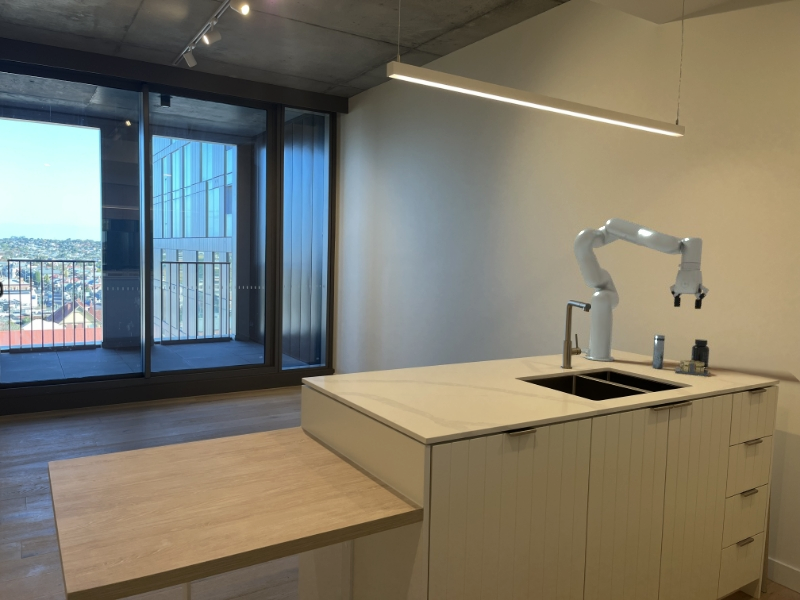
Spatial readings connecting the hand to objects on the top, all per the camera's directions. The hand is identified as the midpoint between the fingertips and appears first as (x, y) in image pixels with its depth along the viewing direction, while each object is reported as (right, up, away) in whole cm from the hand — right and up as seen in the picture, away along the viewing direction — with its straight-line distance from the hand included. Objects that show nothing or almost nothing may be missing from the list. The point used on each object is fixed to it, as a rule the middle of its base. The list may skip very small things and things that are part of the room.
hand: (687, 307), depth 257 cm
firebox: (-2, -26, -8) cm, 27 cm away
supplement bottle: (+10, -26, +9) cm, 29 cm away
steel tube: (-12, -26, +1) cm, 28 cm away
